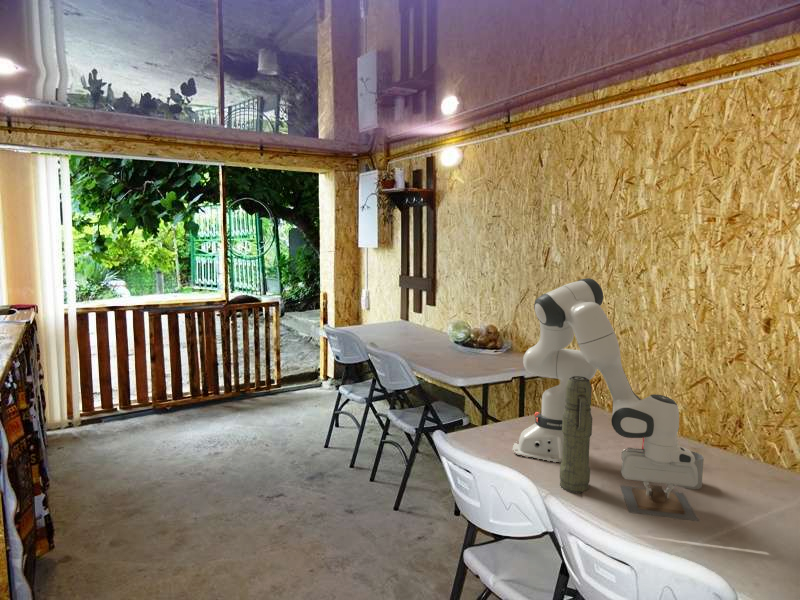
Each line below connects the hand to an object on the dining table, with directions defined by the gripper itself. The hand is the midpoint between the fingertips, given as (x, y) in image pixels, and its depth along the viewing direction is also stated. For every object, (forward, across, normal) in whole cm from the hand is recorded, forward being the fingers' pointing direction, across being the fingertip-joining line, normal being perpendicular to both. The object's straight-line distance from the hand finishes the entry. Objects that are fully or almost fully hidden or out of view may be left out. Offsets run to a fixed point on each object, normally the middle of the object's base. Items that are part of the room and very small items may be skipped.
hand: (657, 496), depth 159 cm
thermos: (+3, -23, +5) cm, 24 cm away
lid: (+2, 0, 0) cm, 2 cm away
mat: (+2, 0, 0) cm, 2 cm away
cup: (+3, +12, +17) cm, 21 cm away
